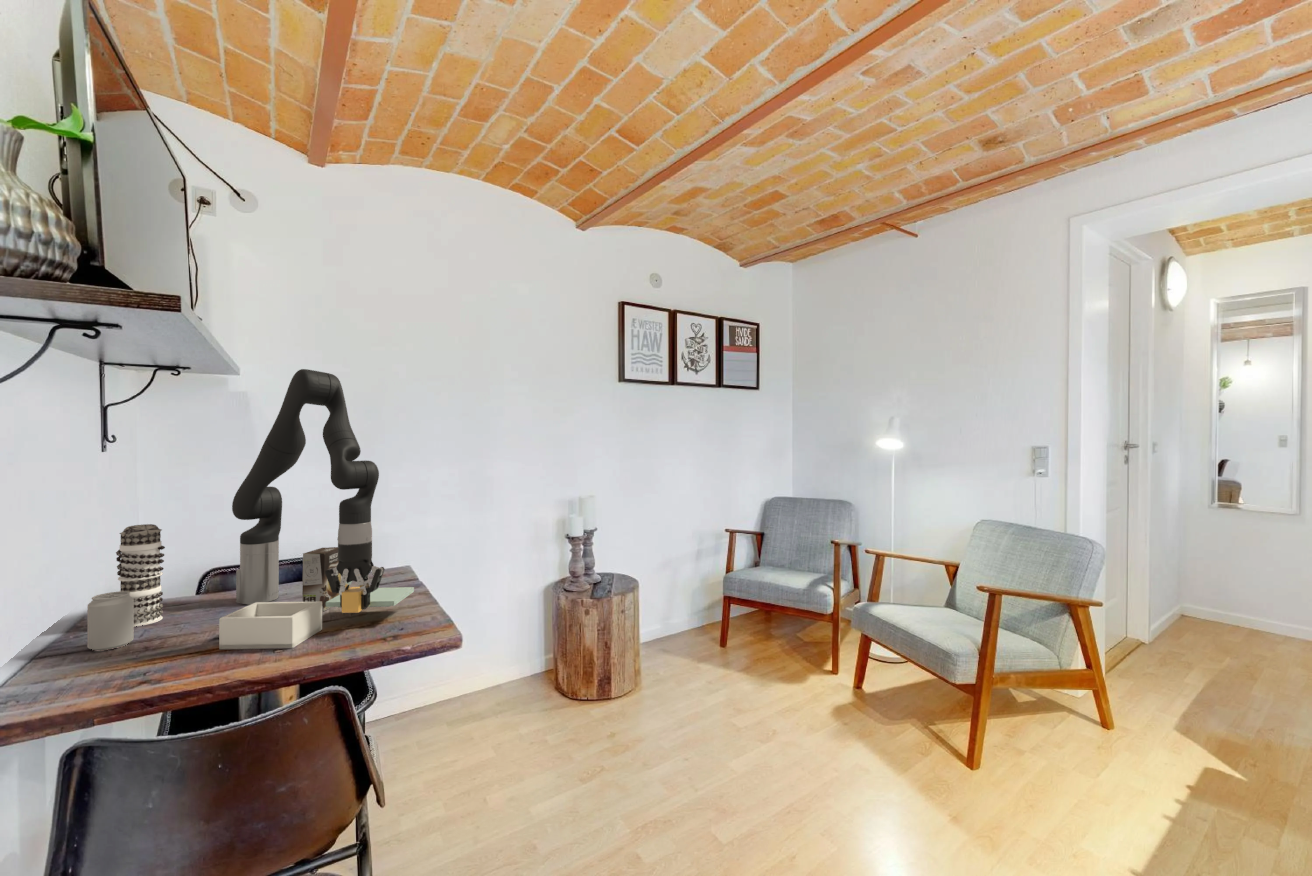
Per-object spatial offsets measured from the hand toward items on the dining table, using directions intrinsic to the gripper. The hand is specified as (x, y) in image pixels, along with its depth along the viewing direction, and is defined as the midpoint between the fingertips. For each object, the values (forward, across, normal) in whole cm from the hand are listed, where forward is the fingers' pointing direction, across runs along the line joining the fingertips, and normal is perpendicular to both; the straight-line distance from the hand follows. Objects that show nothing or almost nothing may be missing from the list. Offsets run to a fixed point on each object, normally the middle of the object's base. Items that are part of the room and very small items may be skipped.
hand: (355, 608), depth 136 cm
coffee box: (+5, +18, -19) cm, 27 cm away
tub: (+5, +16, +6) cm, 18 cm away
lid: (+1, 0, -6) cm, 7 cm away
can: (+5, +50, +9) cm, 51 cm away
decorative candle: (+5, +58, -8) cm, 59 cm away
